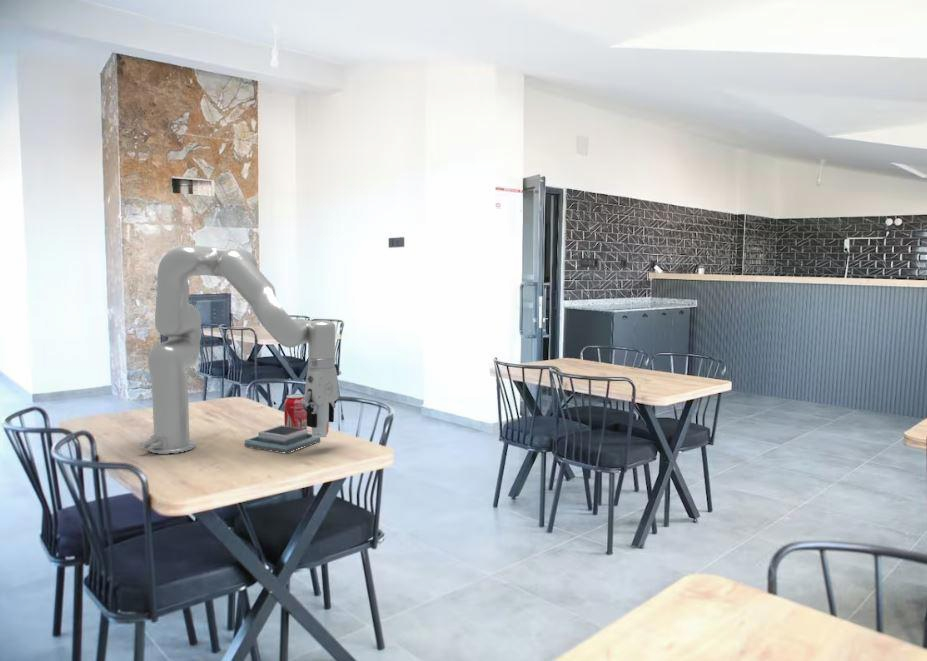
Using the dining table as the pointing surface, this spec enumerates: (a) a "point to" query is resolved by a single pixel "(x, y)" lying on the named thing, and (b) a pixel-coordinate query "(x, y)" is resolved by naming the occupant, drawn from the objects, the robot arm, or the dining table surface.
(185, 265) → the robot arm
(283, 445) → the tray
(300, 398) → the soda can
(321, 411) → the skincare box
